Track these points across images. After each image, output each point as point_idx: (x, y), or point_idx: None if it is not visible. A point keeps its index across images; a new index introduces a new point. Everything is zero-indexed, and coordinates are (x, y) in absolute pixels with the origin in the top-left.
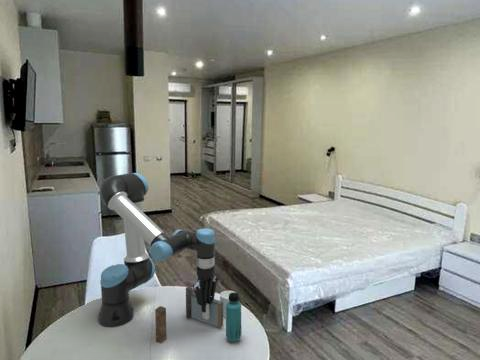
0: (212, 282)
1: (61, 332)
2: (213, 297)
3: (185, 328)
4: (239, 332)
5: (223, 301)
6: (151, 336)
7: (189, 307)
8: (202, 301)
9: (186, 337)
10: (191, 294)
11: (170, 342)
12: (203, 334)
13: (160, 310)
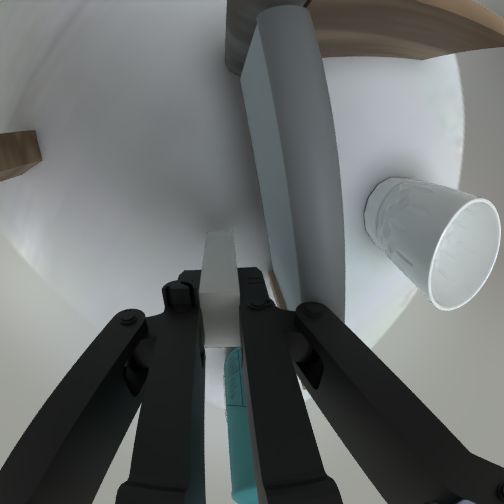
0: (418, 498)
1: None
2: (317, 371)
3: (147, 136)
4: None
5: (414, 257)
6: (20, 100)
7: (236, 50)
8: (138, 395)
9: (107, 208)
10: (259, 17)
11: (44, 190)
12: (183, 248)
13: None
